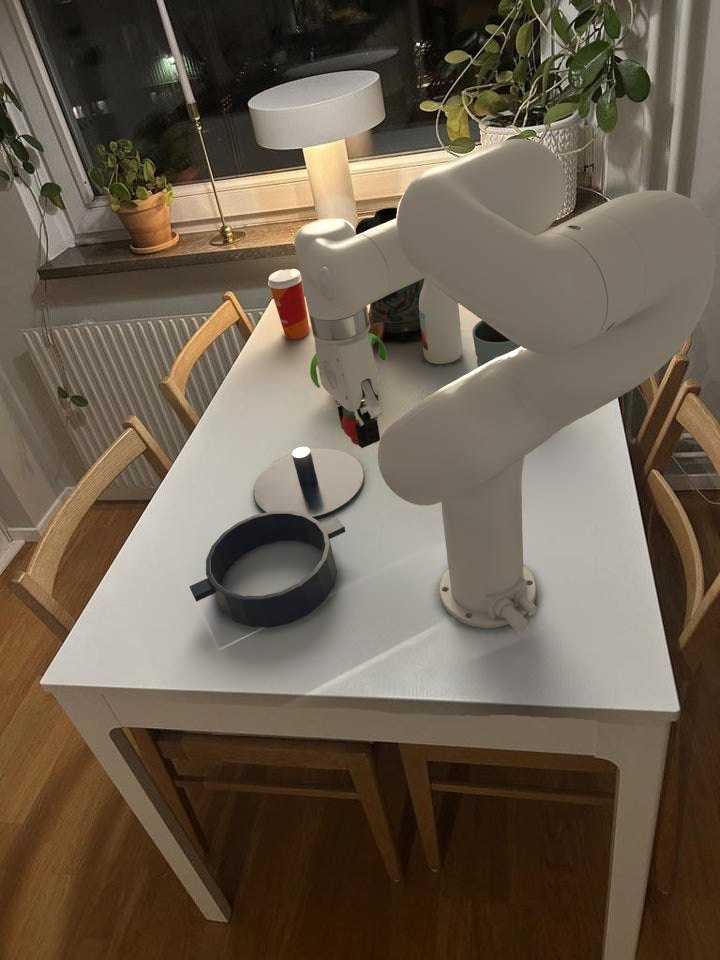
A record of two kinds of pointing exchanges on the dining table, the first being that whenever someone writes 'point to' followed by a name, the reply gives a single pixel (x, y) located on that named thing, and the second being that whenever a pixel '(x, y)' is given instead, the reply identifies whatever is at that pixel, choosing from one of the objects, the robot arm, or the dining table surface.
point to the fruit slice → (377, 330)
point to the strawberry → (351, 423)
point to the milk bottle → (439, 325)
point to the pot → (279, 604)
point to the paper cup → (290, 302)
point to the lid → (310, 482)
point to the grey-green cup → (490, 343)
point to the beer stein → (395, 296)
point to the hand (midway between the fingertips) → (360, 433)
